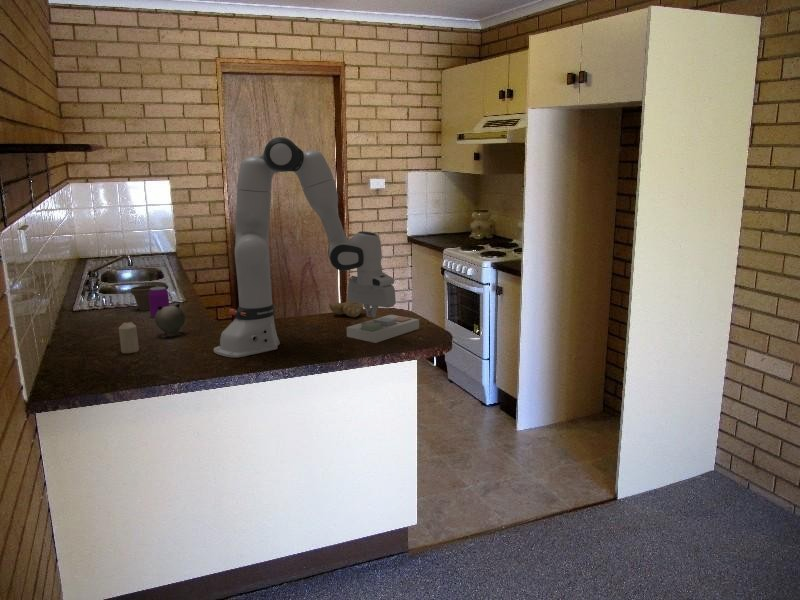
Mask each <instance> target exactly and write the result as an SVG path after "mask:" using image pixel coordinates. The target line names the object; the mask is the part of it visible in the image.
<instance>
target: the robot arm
mask: <svg viewBox="0 0 800 600" xmlns="http://www.w3.org/2000/svg"><path fill="white" fill-rule="evenodd" d="M285 172H293V173H295V175H296V177H297V178H298V180H299V183H300V186H301V189H302V191H303V194H304V196H305V199H306V200H307V202H308V204H309V205H310V207H311V208H312V210H313V211H314V212H315V213H316V214H317V215H318V217H319V219H320V221H321V223H322V226H323V228H324V231H325V233H326V236H327V237H326V238H327V240H328V241H327V242H328V247H327V248H328V250H327V253H328V254H327V255H328V258H329V261H330V263H331V265H332V266H333V268H335V269H336V270H338V271H341V272H346V271H350V270H354V269H356V276H355V275H351V277H349V279H348V285H347V300H349V301H350V302H356V303H362V304H363V308H364V311H365V312H366V317H369V318H373V319H375V318H376V317H377V311H378V309H379V308H380V307H382V308H387V309H389V308H393V307H394V306H395V305H396V302H397V301H396V289H395V287H394V283H395V278H393V276H390V275H388V274H387V273H385V272H383V265H382V258H383V254H382V253H383V251H382V242H381V237H380V236H379V235H378V234H376V233H375V232H372V231H365V230H364V231H358V232H357V233H356V234H355V235H353V236H352V237H350V238H348V237H347V235H346V233H345V230H344V227H343V224H342V222H341V219H340V214H339V210H338V204H339V194H338V189H337V184H336V181H335V179H334V176H333V173H332V170H331V168H330V166H329V163H328V162H327V160H326V158H325V156H324V155H323V153H322V152H321V151H320V150H317V149H316V150H315V149H309V150H304V151H303V150H302V149H301V148H300V147H299V146H298V145H296V144H295V143H294V141H293V140H291V139H289V138H287V137H284V136H282V137H281V136H278V137H274V138H272V139H270V140H269V141H268V142H267V144H266V145H265V147H264V151H263V153H262V154H260V155H251V156H247V157H245V158H243V159H242V160H241V163H240V165H239V170H238V175H237V185H236V205H235V206H236V209H235V216H236V217H235V241H234V242H235V244H234V260H235V262H234V263H235V270H236V280H237V281H236V282H237V293H238V307H237V309H236V308H230V309H229V315H233V316H235V318H234V319H233V320H232V322H230V323H229V325H228V326H227V327H226V328H225V329H224V330H223V331H221V335H220V339H219V345H218V346H214V348H213V353H215V354H217V355H218V356H219V355H220V356H223V357H227V358H242V357H247V356H250V355H256V354H260V353H266V352H270V351H274V350H278V346H279V345H281V344H280V340H279V337H278V333H277V330H276V324H275V318H274V317H275V304H274V303H273V294H272V279H271V262H270V257H271V256H270V247H269V242H270V241H269V236H270V223H271V207H272V205H271V204H272V184H273V183H272V181H273V177H274V175H275V174H278V173H285Z"/></svg>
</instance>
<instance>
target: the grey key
mask: <svg viewBox="0 0 800 600" xmlns="http://www.w3.org/2000/svg"><path fill="white" fill-rule="evenodd" d="M377 323H379V324H381V326H385V327H389V326H392V325H395V324H396V319H391V318H383V319H379V320H377Z"/></svg>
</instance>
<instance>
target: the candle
mask: <svg viewBox="0 0 800 600" xmlns="http://www.w3.org/2000/svg"><path fill="white" fill-rule="evenodd" d="M137 330H138V329H137V325H136V324H134V323H133V322H132V321H129V322H123V323H122V324H121V325H120V326H119V327H118V334H119V335H118V336H119V343H120V350H121V351H120V352H121V353H122V354H135V353H137V352H139V351H140V347H139V339H138V331H137Z"/></svg>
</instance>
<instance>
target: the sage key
mask: <svg viewBox="0 0 800 600" xmlns="http://www.w3.org/2000/svg"><path fill="white" fill-rule="evenodd" d="M361 328H362V330H366V331H371V332H373V331H376V330H379V329H382V328H381V324H379V323H374V322H369V323H366V324H362V325H361Z"/></svg>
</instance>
